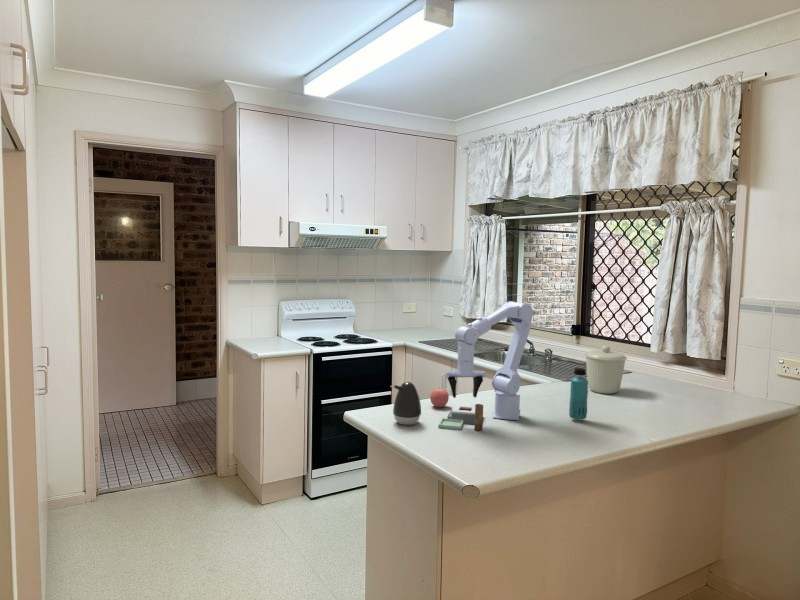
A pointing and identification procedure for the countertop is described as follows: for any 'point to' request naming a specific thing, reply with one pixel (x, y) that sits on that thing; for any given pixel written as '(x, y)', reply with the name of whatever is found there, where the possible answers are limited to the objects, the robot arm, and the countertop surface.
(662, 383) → the countertop surface
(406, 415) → the pump dispenser
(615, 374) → the canister
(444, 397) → the apple
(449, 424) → the rest tray
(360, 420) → the countertop surface
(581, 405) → the beverage bottle
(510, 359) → the robot arm
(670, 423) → the countertop surface
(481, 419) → the brown wooden cylinder
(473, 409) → the box
